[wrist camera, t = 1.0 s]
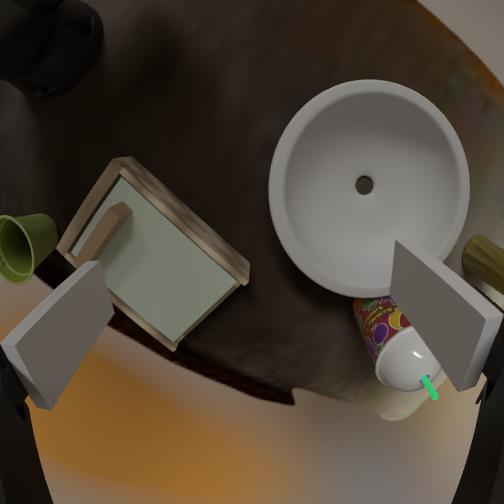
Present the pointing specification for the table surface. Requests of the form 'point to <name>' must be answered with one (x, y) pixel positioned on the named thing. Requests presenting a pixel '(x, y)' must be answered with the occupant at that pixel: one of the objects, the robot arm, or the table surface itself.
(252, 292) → the table surface
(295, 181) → the soup bowl
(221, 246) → the box
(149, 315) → the cover plate
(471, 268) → the vase
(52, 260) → the table surface
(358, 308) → the smoothie
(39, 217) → the plant pot
